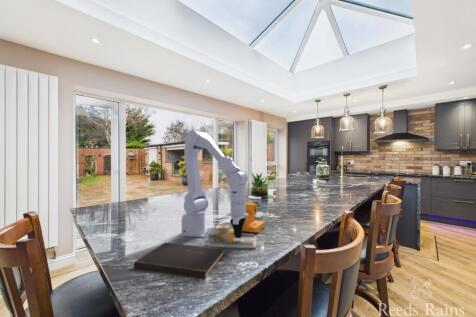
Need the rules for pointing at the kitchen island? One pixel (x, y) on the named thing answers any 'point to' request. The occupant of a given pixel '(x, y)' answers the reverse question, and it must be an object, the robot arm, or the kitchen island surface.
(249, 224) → the bracket
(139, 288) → the kitchen island surface
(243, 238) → the vise base
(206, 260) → the dark brown flat slab
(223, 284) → the kitchen island surface
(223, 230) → the maple block
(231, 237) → the sliding jaw
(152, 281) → the kitchen island surface
